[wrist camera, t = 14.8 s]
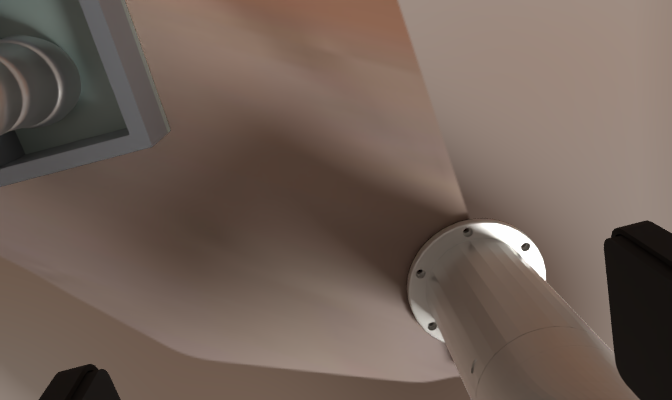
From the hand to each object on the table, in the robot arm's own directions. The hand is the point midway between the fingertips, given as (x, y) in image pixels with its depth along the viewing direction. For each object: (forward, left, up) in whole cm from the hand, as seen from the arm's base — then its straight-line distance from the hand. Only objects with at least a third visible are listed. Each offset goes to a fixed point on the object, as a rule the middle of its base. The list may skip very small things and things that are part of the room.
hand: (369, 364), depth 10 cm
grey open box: (+7, +18, -36) cm, 41 cm away
